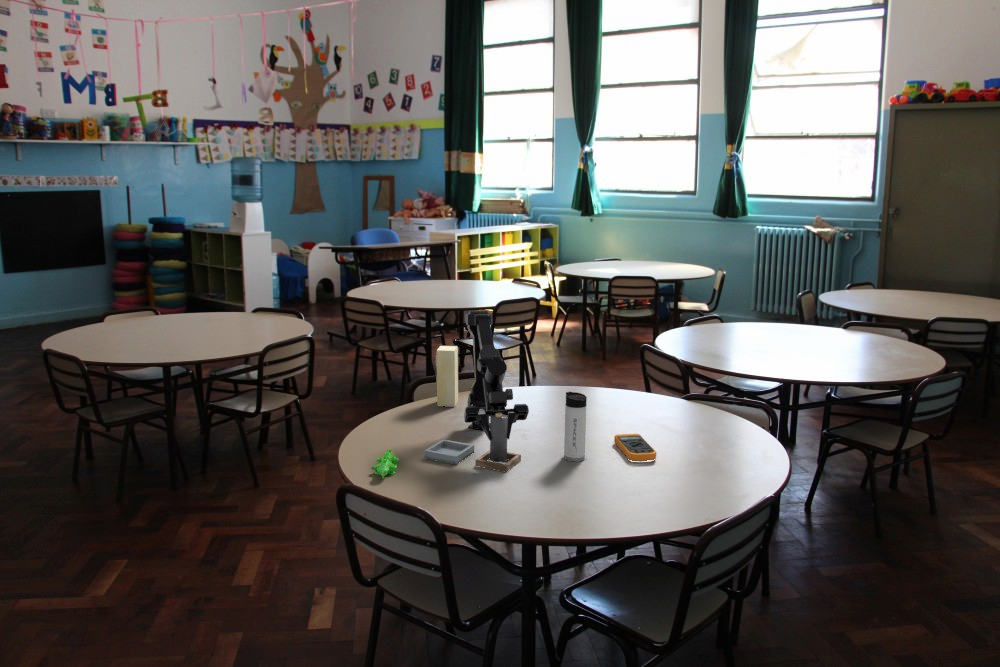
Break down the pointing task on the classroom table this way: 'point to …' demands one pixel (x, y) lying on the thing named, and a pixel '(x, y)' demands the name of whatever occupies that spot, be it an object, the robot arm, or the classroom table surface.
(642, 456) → the multimeter
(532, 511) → the classroom table surface
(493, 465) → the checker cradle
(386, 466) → the crocodile figurine
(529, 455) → the classroom table surface
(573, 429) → the travel mug
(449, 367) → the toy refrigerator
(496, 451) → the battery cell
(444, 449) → the tray
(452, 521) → the classroom table surface
